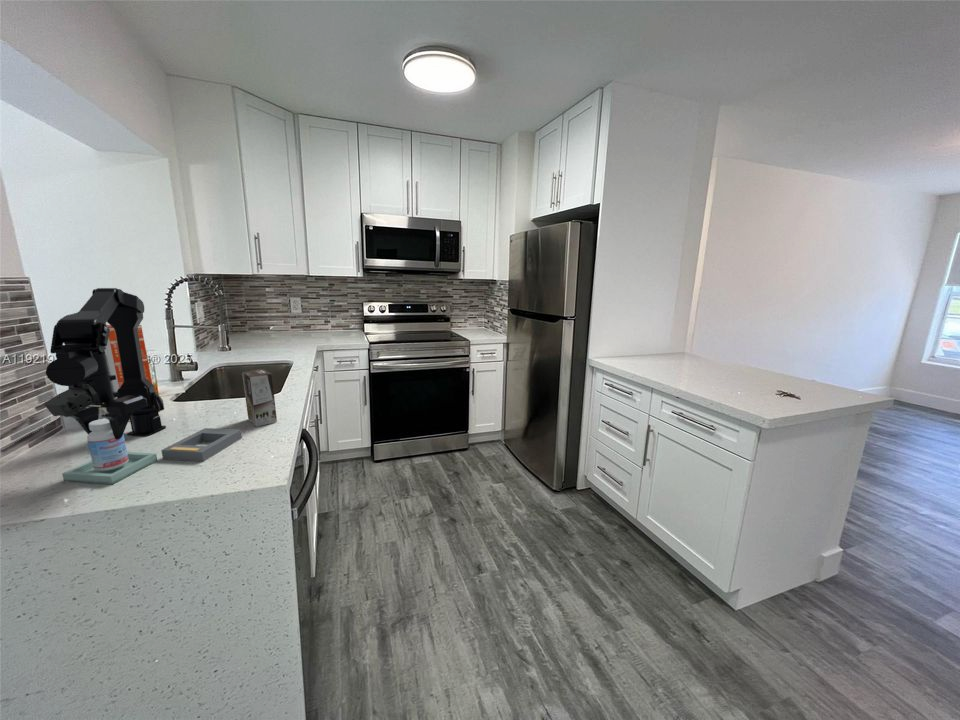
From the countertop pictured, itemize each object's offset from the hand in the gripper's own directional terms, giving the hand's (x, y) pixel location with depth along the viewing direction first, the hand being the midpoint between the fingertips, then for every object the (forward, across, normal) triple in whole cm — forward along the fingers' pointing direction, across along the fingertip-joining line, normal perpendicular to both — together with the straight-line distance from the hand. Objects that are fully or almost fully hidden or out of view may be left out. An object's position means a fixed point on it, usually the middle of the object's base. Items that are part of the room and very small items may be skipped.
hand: (106, 437), depth 88 cm
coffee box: (+9, +15, +33) cm, 38 cm away
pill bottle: (+7, 0, 0) cm, 7 cm away
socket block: (+8, +12, +13) cm, 20 cm away
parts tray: (+8, 0, 0) cm, 8 cm away
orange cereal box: (+9, -34, +35) cm, 50 cm away
